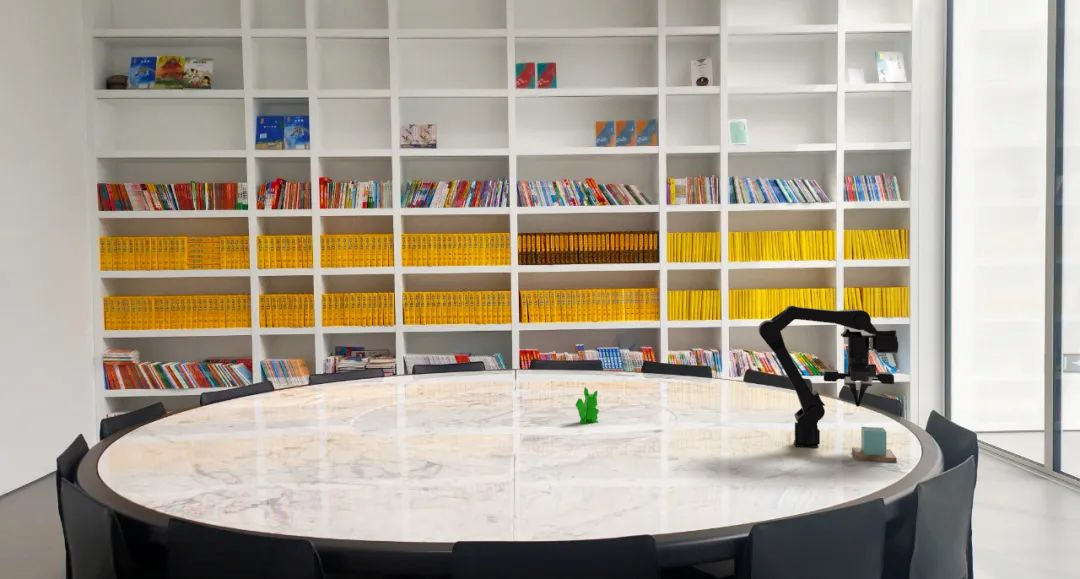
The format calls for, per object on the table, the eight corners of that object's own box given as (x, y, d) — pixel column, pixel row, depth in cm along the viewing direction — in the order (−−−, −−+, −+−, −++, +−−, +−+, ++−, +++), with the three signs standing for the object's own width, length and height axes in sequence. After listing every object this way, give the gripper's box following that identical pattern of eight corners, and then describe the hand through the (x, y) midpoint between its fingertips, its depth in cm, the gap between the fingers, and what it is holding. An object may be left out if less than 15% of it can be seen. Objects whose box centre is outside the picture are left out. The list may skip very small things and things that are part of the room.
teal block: (864, 454, 211) (864, 430, 211) (861, 449, 217) (861, 426, 217) (886, 455, 210) (886, 431, 210) (882, 450, 215) (883, 427, 215)
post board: (856, 460, 210) (856, 437, 210) (852, 451, 220) (852, 430, 219) (896, 462, 207) (896, 439, 207) (890, 453, 217) (890, 431, 217)
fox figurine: (603, 422, 265) (603, 387, 265) (584, 426, 259) (584, 390, 258) (590, 419, 270) (590, 385, 269) (571, 423, 263) (571, 388, 263)
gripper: (824, 354, 220) (824, 409, 221) (896, 357, 214) (895, 413, 214) (823, 350, 231) (823, 402, 231) (892, 352, 225) (891, 406, 225)
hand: (857, 406), depth 225 cm, fingers closed
